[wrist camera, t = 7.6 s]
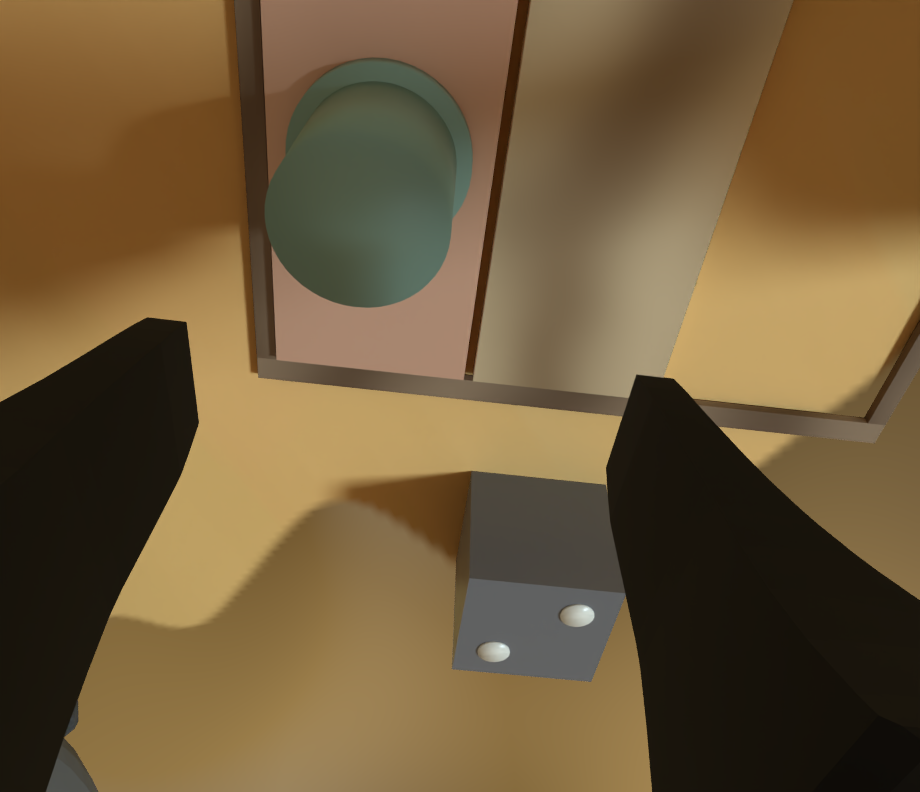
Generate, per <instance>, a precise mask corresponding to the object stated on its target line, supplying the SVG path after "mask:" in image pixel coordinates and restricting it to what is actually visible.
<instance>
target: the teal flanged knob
mask: <svg viewBox="0 0 920 792" xmlns="http://www.w3.org/2000/svg"><path fill="white" fill-rule="evenodd" d="M285 153H286V156H285V157H284V159H283V160H282V162H281V163H280V165H279V167H278V168H277V170H276V171H275V173H274V175H273V177H272V179H271V181H270V184H269V187H268V190H267V194H266V200H265V223H266V229H267V233H268V237H269V240H270V243H271V245H272V247H273V250H274V252H275V253H276V255H277V257H278V259H279V260H280V262H281V263H282V265H283V266H284V267H285V269H286V270H287V271H288V272H289V273H290V274H291V275H292V276H293V277H294V278H295V279H296V280H297V281H298V282H299V283H300V284H302V285H303V286H304V287H306V288H307V289H308V290H310V291H311V292H313V293H315V294H317V295H318V296H320V297H322V298H324V299H327V300H329V301H332V302H335V303H338V304H342V305H346V306H352V307H362V308H372V307H382V306H387V305H391V304H395V303H398V302H401V301H403V300H405V299H407V298H409V297H411V296H413V295H414V294H416V293H418V292H419V291H420V290H422V289H423V288H424V287H425V286H426V285H428V283H429V282H430V281H431V280H432V279H433V278H434V277H435V276H436V274H437V273H438V271H439V270H440V268H441V266H442V264H443V262H444V260H445V258H446V255H447V252H448V249H449V245H450V239H451V230H452V219H453V218H454V216H455V215H456V214H457V212H458V211H459V209H460V208H461V206H462V204H463V202H464V200H465V198H466V195H467V192H468V189H469V186H470V181H471V176H472V161H473V151H472V141H471V136H470V131H469V128H468V125H467V122H466V119H465V117H464V115H463V113H462V111H461V109H460V107H459V106H458V104H457V103H456V101H455V100H454V98H453V97H452V95H451V94H450V93H449V92H448V91H447V90H446V89H445V88H444V86H442V85H441V84H440V83H439V82H438V81H437V80H436V79H434V78H433V77H432V76H430V75H429V74H427V73H426V72H424V71H423V70H421V69H419V68H417V67H415V66H413V65H410V64H407V63H404V62H402V61H398V60H393V59H388V58H374V57H372V58H362V59H357V60H352V61H348V62H346V63H343V64H341V65H338V66H336V67H334V68H333V69H331V70H329V71H328V72H326V73H325V74H323V75H322V76H321V77H320V78H318V79H317V80H316V81H315V82H314V83H313V84H312V86H311V87H310V88H309V89H308V90H307V92H306V93H305V94H304V96H303V97H302V99H301V100H300V102H299V103H298V105H297V106H296V108H295V110H294V112H293V115H292V117H291V120H290V123H289V126H288V130H287V136H286V150H285Z"/></svg>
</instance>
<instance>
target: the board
mask: <svg viewBox="0 0 920 792" xmlns="http://www.w3.org/2000/svg"><path fill="white" fill-rule="evenodd" d="M792 3H793V0H529V5H528V12H527V19H526V25H525V32H524V38H523V45H522V51H521V58H520V65H519V71H518V78H517V84H516V91H515V98H514V104H513V111H512V117H511V124H510V131H509V137H508V144H507V150H506V157H505V163H504V170H503V177H502V183H501V190H500V196H499V203H498V210H497V216H496V223H495V229H494V236H493V243H492V249H491V256H490V262H489V269H488V276H487V282H486V289H485V295H484V302H483V308H482V315H481V322H480V328H479V335H478V341H477V348H476V355H475V361H474V368H473V375H464V374H465V367H466V360H467V353H468V346H469V339H470V332H471V325H472V318H473V311H474V304H475V297H476V291H477V284H478V277H479V270H480V263H481V256H482V249H483V242H484V235H485V228H486V221H487V214H488V207H489V200H490V193H491V186H492V179H493V172H494V165H495V158H496V151H497V144H498V137H499V130H500V123H501V116H502V110H503V103H504V96H505V89H506V82H507V75H508V68H509V61H510V54H511V47H512V40H513V33H514V26H515V19H516V12H517V5H518V0H234V5H235V21H236V37H237V52H238V68H239V83H240V99H241V114H242V130H243V146H244V161H245V177H246V192H247V208H248V223H249V239H250V255H251V270H252V286H253V301H254V317H255V333H256V348H257V364H258V378H267V379H276V380H286V381H295V382H305V383H314V384H323V385H333V386H342V387H352V388H361V389H370V390H380V391H389V392H399V393H408V394H417V395H427V396H436V397H446V398H455V399H464V400H474V401H483V402H492V403H502V404H511V405H521V406H530V407H539V408H549V409H558V410H568V411H577V412H586V413H596V414H605V415H615V416H623V414H624V411H625V408H626V405H627V402H628V399H629V396H630V393H631V389H632V386H633V383H634V380H635V377H636V374H637V375H645V376H654V377H664V374H665V371H666V368H667V365H668V363H669V360H670V357H671V354H672V351H673V348H674V345H675V342H676V339H677V337H678V334H679V331H680V328H681V325H682V322H683V319H684V316H685V313H686V310H687V308H688V305H689V302H690V299H691V296H692V293H693V290H694V287H695V284H696V281H697V279H698V276H699V273H700V270H701V267H702V264H703V261H704V258H705V255H706V253H707V250H708V247H709V244H710V241H711V238H712V235H713V232H714V229H715V226H716V224H717V221H718V218H719V215H720V212H721V209H722V206H723V203H724V200H725V197H726V195H727V192H728V189H729V186H730V183H731V180H732V177H733V174H734V171H735V168H736V166H737V163H738V160H739V157H740V154H741V151H742V148H743V145H744V142H745V140H746V137H747V134H748V131H749V128H750V125H751V122H752V119H753V116H754V113H755V111H756V108H757V105H758V102H759V99H760V96H761V93H762V90H763V87H764V84H765V82H766V79H767V76H768V73H769V70H770V67H771V64H772V61H773V58H774V56H775V53H776V50H777V47H778V44H779V41H780V38H781V35H782V32H783V29H784V27H785V24H786V21H787V18H788V15H789V12H790V9H791V6H792ZM372 57H374V58H388V59H393V60H398V61H402V62H404V63H407V64H410V65H413V66H415V67H417V68H419V69H421V70H423V71H424V72H426V73H427V74H429V75H430V76H432V77H433V78H434V79H436V80H437V81H438V82H439V83H440V84H441V85H442V86H444V88H445V89H446V90H447V91H448V92H449V93H450V94H451V95H452V97H453V98H454V100H455V101H456V103H457V104H458V106H459V107H460V109H461V111H462V113H463V115H464V117H465V119H466V122H467V125H468V128H469V131H470V136H471V141H472V151H473V161H472V176H471V181H470V186H469V189H468V192H467V195H466V198H465V200H464V202H463V204H462V206H461V208H460V209H459V211H458V212H457V214H456V215H455V216H454V218H453V219H452V230H451V239H450V245H449V249H448V252H447V255H446V258H445V260H444V262H443V264H442V266H441V268H440V270H439V271H438V273H437V274H436V276H435V277H434V278H433V279H432V280H431V281H430V282H429V283H428V285H426V286H425V287H424V288H423V289H422V290H420V291H419V292H418V293H416V294H414V295H413V296H411V297H409V298H407V299H405V300H403V301H401V302H398V303H395V304H391V305H387V306H382V307H372V308H362V307H352V306H346V305H342V304H338V303H335V302H332V301H329V300H327V299H324V298H322V297H320V296H318V295H317V294H315V293H313V292H311V291H310V290H308V289H307V288H306V287H304V286H303V285H302V284H300V283H299V282H298V281H297V280H296V279H295V278H294V277H293V276H292V275H291V274H290V273H289V272H288V271H287V270H286V269H285V267H284V266H283V265H282V263H281V262H280V260H279V259H278V257H277V255H276V253H275V252H274V250H273V247H272V245H271V243H270V240H269V237H268V233H267V229H266V223H265V200H266V194H267V190H268V187H269V184H270V181H271V179H272V177H273V175H274V173H275V171H276V170H277V168H278V167H279V165H280V163H281V162H282V160H283V159H284V157H285V156H286V153H285V150H286V136H287V130H288V126H289V123H290V120H291V117H292V115H293V112H294V110H295V108H296V106H297V105H298V103H299V102H300V100H301V99H302V97H303V96H304V94H305V93H306V92H307V90H308V89H309V88H310V87H311V86H312V84H313V83H314V82H315V81H316V80H317V79H318V78H320V77H321V76H322V75H323V74H325V73H326V72H328V71H329V70H331V69H333V68H334V67H336V66H338V65H341V64H343V63H346V62H348V61H352V60H357V59H362V58H372ZM919 368H920V321H919V323H918V325H917V327H916V328H915V330H914V332H913V334H912V335H911V337H910V339H909V341H908V342H907V344H906V346H905V348H904V349H903V351H902V353H901V355H900V356H899V358H898V360H897V362H896V363H895V365H894V367H893V369H892V370H891V372H890V374H889V376H888V377H887V379H886V381H885V383H884V385H883V386H882V388H881V390H880V391H879V393H878V395H877V397H876V398H875V400H874V402H873V403H872V405H871V407H870V409H869V410H868V412H867V414H866V416H865V417H864V418H861V417H852V416H843V415H834V414H824V413H815V412H806V411H797V410H787V409H778V408H769V407H760V406H750V405H741V404H732V403H723V402H713V401H704V400H695V399H693V400H694V401H695V402H696V403H697V404H698V405H699V406H700V407H701V408H702V410H703V411H704V412H705V413H706V414H707V415H708V416H709V417H710V418H711V419H712V421H713V422H714V423H715V424H716V425H717V426H718V427H727V428H737V429H746V430H755V431H765V432H774V433H784V434H793V435H802V436H812V437H822V438H831V439H841V440H850V441H859V442H868V443H875V441H876V440H877V438H878V436H879V434H880V433H881V431H882V430H883V428H884V426H885V425H886V423H887V422H888V420H889V418H890V416H891V415H892V413H893V411H894V410H895V408H896V406H897V405H898V403H899V401H900V400H901V398H902V396H903V395H904V393H905V391H906V389H907V388H908V386H909V385H910V383H911V381H912V380H913V378H914V376H915V375H916V373H917V371H918V370H919Z"/></svg>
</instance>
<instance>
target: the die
mask: <svg viewBox="0 0 920 792" xmlns="http://www.w3.org/2000/svg"><path fill="white" fill-rule="evenodd" d="M455 583H456V584H455V608H454V633H453V658H452V669H457V670H468V671H478V672H489V673H501V674H512V675H523V676H534V677H545V678H555V679H566V680H577V681H588V682H591V681H592V678H593V676H594V673H595V671H596V668H597V666H598V663H599V661H600V658H601V656H602V653H603V651H604V648H605V646H606V643H607V641H608V638H609V636H610V633H611V631H612V628H613V626H614V623H615V621H616V618H617V616H618V613H619V611H620V608H621V605H622V603H623V600H624V598H625V595H626V594H625V590H624V585H623V580H622V576H621V571H620V567H619V562H618V557H617V553H616V548H615V543H614V538H613V534H612V529H611V524H610V515H609V504H608V494H607V489H606V485H602V484H593V483H583V482H573V481H564V480H554V479H544V478H535V477H525V476H515V475H506V474H496V473H487V472H477V471H472V472H471V478H470V484H469V489H468V495H467V501H466V507H465V513H464V519H463V525H462V531H461V536H460V542H459V548H458V554H457V560H456V582H455Z"/></svg>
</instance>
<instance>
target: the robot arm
mask: <svg viewBox="0 0 920 792" xmlns="http://www.w3.org/2000/svg"><path fill="white" fill-rule="evenodd" d="M198 424H199V420H198V412H197V404H196V395H195V387H194V379H193V371H192V363H191V355H190V347H189V339H188V331H187V323H186V322H182V321H173V320H165V319H156V318H145V319H143V320H142V321H140V322H138V323H136V324H134V325H132V326H131V327H129V328H127V329H125V330H124V331H122V332H120V333H119V334H117V335H115V336H114V337H112V338H110V339H109V340H107V341H105V342H104V343H102V344H101V345H99V346H97V347H96V348H94V349H92V350H91V351H89V352H87V353H86V354H84V355H82V356H81V357H79V358H77V359H76V360H74V361H72V362H71V363H69V364H67V365H66V366H64V367H62V368H61V369H59V370H57V371H56V372H54V373H52V374H51V375H49V376H47V377H46V378H44V379H42V380H40V381H38V382H37V383H35V384H33V385H31V386H29V387H27V388H25V389H24V390H22V391H20V392H18V393H16V394H14V395H12V396H11V397H9V398H7V399H5V400H3V401H1V402H0V792H46V790H47V787H48V784H49V781H50V778H51V775H52V772H53V769H54V766H55V763H56V760H57V757H58V754H59V751H60V748H61V745H62V742H63V739H64V736H65V733H66V730H67V728H68V725H69V722H70V719H71V717H72V714H73V711H74V708H75V706H76V703H77V700H78V697H79V694H80V692H81V689H82V686H83V683H84V681H85V678H86V675H87V672H88V670H89V667H90V664H91V662H92V659H93V657H94V654H95V651H96V649H97V647H98V644H99V641H100V639H101V636H102V634H103V631H104V629H105V626H106V624H107V621H108V618H109V616H110V614H111V612H112V609H113V607H114V605H115V603H116V601H117V599H118V596H119V594H120V592H121V590H122V588H123V586H124V584H125V582H126V580H127V578H128V577H129V575H130V573H131V571H132V569H133V567H134V565H135V563H136V561H137V559H138V557H139V556H140V554H141V552H142V550H143V548H144V546H145V544H146V542H147V540H148V538H149V536H150V534H151V533H152V531H153V529H154V527H155V525H156V523H157V521H158V519H159V517H160V515H161V513H162V511H163V510H164V508H165V506H166V504H167V502H168V500H169V498H170V496H171V494H172V492H173V490H174V488H175V486H176V484H177V482H178V480H179V478H180V476H181V473H182V471H183V468H184V465H185V462H186V460H187V457H188V454H189V451H190V448H191V445H192V442H193V439H194V436H195V433H196V430H197V427H198ZM606 474H607V490H608V504H609V515H610V524H611V529H612V534H613V538H614V543H615V548H616V553H617V557H618V562H619V567H620V571H621V576H622V580H623V585H624V590H625V594H626V599H627V603H628V608H629V612H630V617H631V621H632V626H633V631H634V635H635V640H636V645H637V651H638V657H639V663H640V669H641V679H642V687H643V697H644V706H645V716H646V725H647V735H648V747H649V759H650V771H651V782H652V792H920V600H919V599H917V598H916V597H914V596H913V595H911V594H910V593H908V592H907V591H905V590H904V589H903V588H901V587H900V586H899V585H897V584H896V583H894V582H893V581H891V580H890V579H888V578H887V577H885V576H884V575H883V574H881V573H880V572H878V571H877V570H876V569H874V568H873V567H872V566H870V565H869V564H868V563H866V562H865V561H863V560H862V559H861V558H859V557H858V556H857V555H856V554H854V553H853V552H852V551H850V550H849V549H848V548H847V547H845V546H844V545H843V544H842V543H841V542H839V541H838V540H837V539H836V538H834V537H833V536H832V535H831V534H829V533H828V532H827V531H826V530H824V529H823V528H822V527H821V526H819V525H818V524H817V523H816V522H814V520H812V519H811V518H810V517H809V516H808V515H807V514H805V513H804V512H803V511H802V510H801V509H800V508H799V507H798V506H797V505H795V504H794V503H793V502H792V501H791V500H790V499H789V498H788V497H787V496H786V495H785V494H784V493H783V492H781V490H779V489H778V488H777V487H776V486H775V485H774V484H773V483H772V482H771V481H770V480H769V479H768V478H767V477H766V476H765V475H764V474H763V473H762V472H761V471H760V470H759V469H758V468H757V467H756V466H755V465H754V464H753V463H752V462H751V461H750V460H749V459H748V458H747V457H746V456H745V455H744V454H743V453H742V452H741V451H740V450H739V449H738V448H737V447H736V445H735V444H734V443H733V442H732V441H731V440H730V439H729V438H728V437H727V436H726V435H725V434H724V433H723V431H722V430H721V429H720V428H719V427H718V426H717V425H716V424H715V423H714V422H713V421H712V419H711V418H710V417H709V416H708V415H707V414H706V413H705V412H704V411H703V410H702V408H701V407H700V406H699V405H698V404H697V403H696V402H695V401H694V400H693V399H692V397H691V396H690V395H689V394H688V393H687V392H686V391H685V390H684V389H683V388H682V387H681V386H680V385H679V384H678V383H677V382H676V381H675V380H674V379H671V378H663V377H654V376H645V375H637V374H636V377H635V380H634V383H633V386H632V389H631V393H630V396H629V399H628V402H627V405H626V408H625V411H624V414H623V417H622V420H621V423H620V426H619V430H618V433H617V436H616V439H615V442H614V445H613V448H612V451H611V454H610V457H609V460H608V463H607V467H606Z"/></svg>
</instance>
